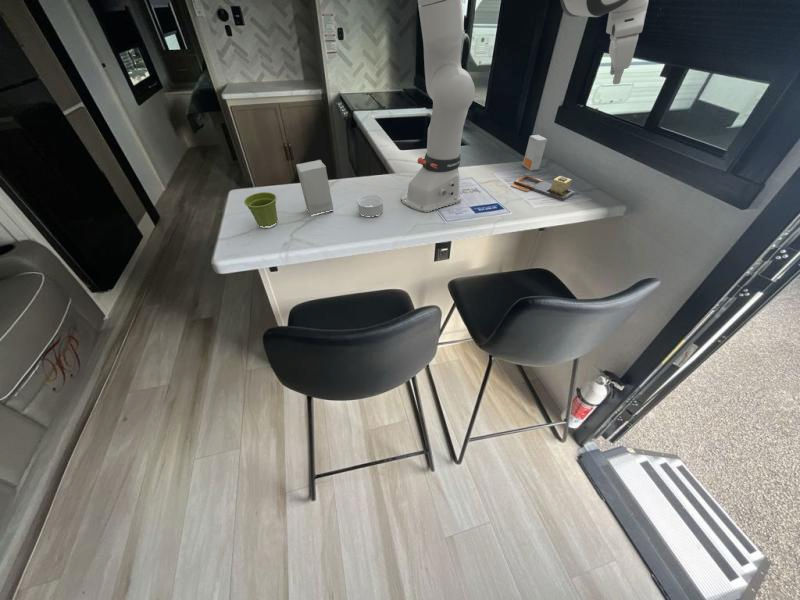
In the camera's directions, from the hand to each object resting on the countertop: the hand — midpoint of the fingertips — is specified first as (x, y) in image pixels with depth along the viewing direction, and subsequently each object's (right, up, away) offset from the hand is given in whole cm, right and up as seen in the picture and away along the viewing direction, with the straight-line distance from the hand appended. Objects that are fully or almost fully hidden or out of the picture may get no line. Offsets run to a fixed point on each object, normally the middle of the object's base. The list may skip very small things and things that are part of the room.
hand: (614, 78), depth 99 cm
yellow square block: (-8, -29, +19) cm, 36 cm away
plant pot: (-109, -44, +5) cm, 117 cm away
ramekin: (-76, -39, +10) cm, 86 cm away
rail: (-13, -27, +21) cm, 37 cm away
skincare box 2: (-11, -12, +37) cm, 41 cm away
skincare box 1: (-94, -38, +11) cm, 102 cm away
